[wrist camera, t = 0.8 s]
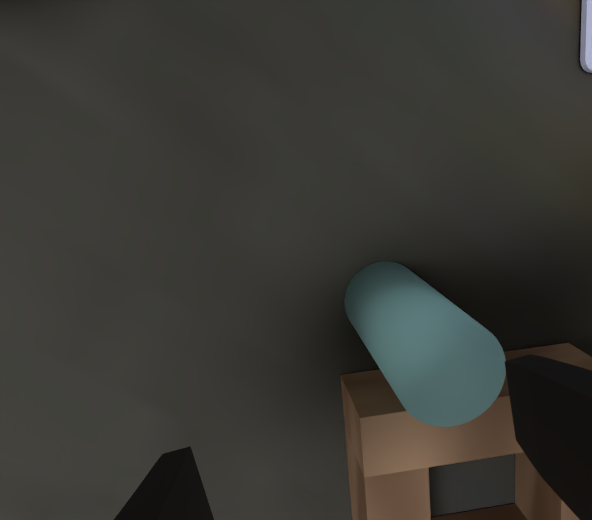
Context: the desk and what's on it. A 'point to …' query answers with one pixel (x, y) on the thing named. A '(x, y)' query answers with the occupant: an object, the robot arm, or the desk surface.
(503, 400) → the socket block
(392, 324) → the peg
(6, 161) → the desk surface
